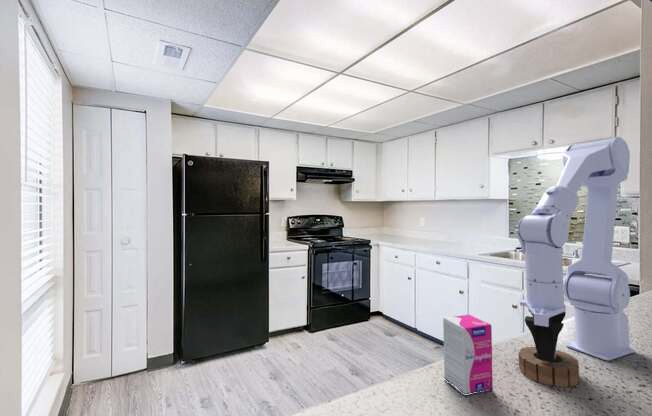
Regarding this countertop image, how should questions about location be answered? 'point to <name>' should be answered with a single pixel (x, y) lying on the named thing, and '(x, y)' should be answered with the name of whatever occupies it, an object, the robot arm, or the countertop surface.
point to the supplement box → (468, 353)
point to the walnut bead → (549, 368)
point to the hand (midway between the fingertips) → (547, 353)
